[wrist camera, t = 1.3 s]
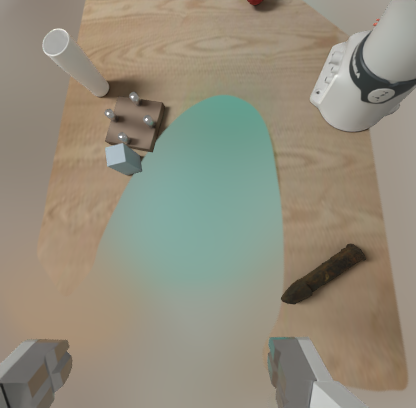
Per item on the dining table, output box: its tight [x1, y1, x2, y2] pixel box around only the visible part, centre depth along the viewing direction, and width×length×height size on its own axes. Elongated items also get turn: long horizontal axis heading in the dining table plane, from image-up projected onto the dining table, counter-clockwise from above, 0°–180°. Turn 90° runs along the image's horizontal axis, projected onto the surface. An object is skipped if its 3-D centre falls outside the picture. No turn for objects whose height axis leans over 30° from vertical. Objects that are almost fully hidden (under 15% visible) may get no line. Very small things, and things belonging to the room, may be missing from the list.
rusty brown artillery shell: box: [281, 244, 366, 304], centre depth 42 cm, size 19×4×5 cm, turn 122°
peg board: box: [105, 92, 165, 152], centre depth 52 cm, size 13×13×5 cm
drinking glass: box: [43, 29, 109, 97], centre depth 51 cm, size 7×7×15 cm
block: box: [105, 143, 142, 175], centre depth 50 cm, size 4×4×8 cm
